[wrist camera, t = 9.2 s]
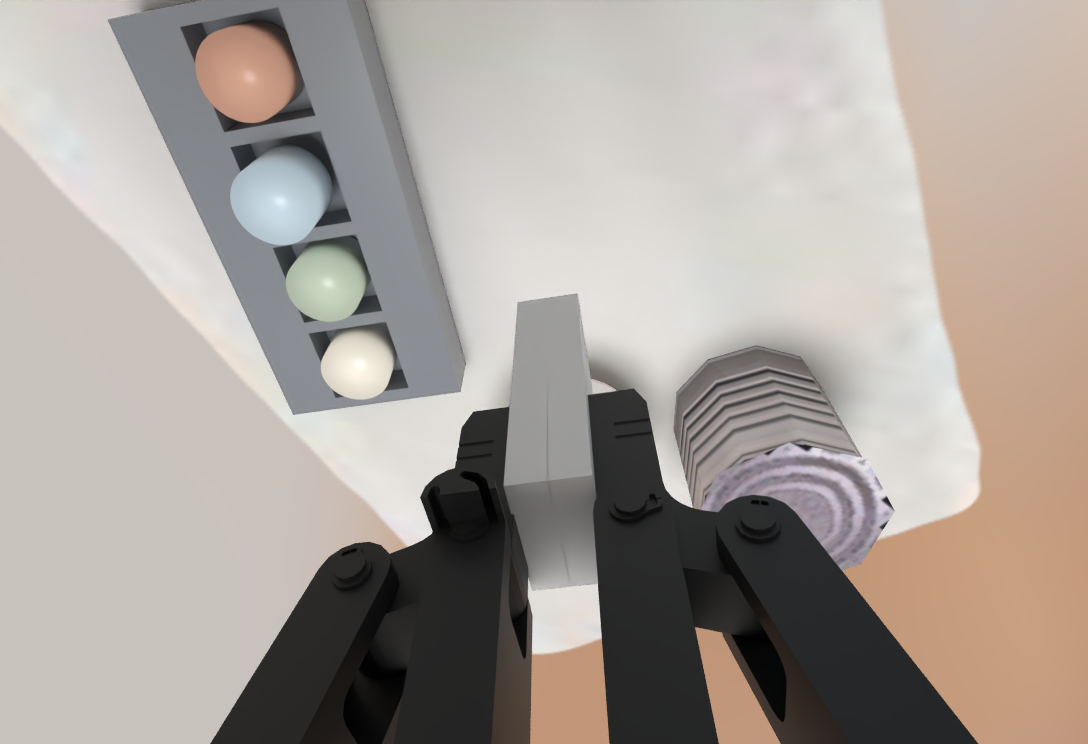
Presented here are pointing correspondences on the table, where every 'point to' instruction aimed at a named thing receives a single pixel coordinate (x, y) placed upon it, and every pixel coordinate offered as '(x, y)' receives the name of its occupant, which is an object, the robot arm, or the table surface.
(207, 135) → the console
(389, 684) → the robot arm
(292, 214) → the pale blue button
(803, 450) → the can
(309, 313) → the sage button
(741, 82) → the table surface
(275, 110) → the terracotta button
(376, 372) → the cream button
